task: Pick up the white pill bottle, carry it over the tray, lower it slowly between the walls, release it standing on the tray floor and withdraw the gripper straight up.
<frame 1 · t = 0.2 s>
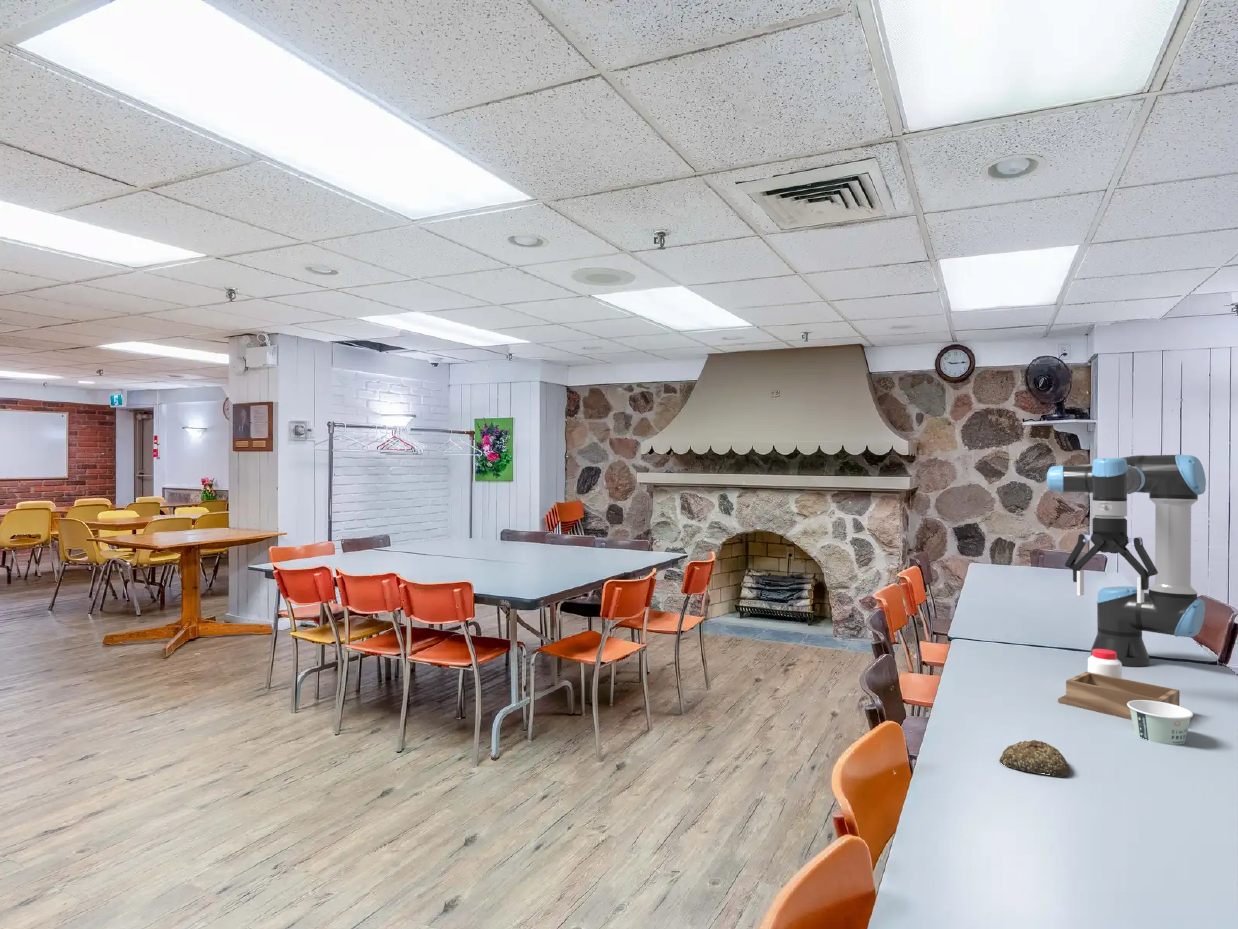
hand: (1109, 598, 188), 27 cm above the table, fingers open, 13 cm apart
food container: (1159, 738, 163), on the table
bread roll: (1034, 766, 149), on the table
pill bottle: (1104, 692, 196), on the table
tray: (1121, 709, 182), on the table
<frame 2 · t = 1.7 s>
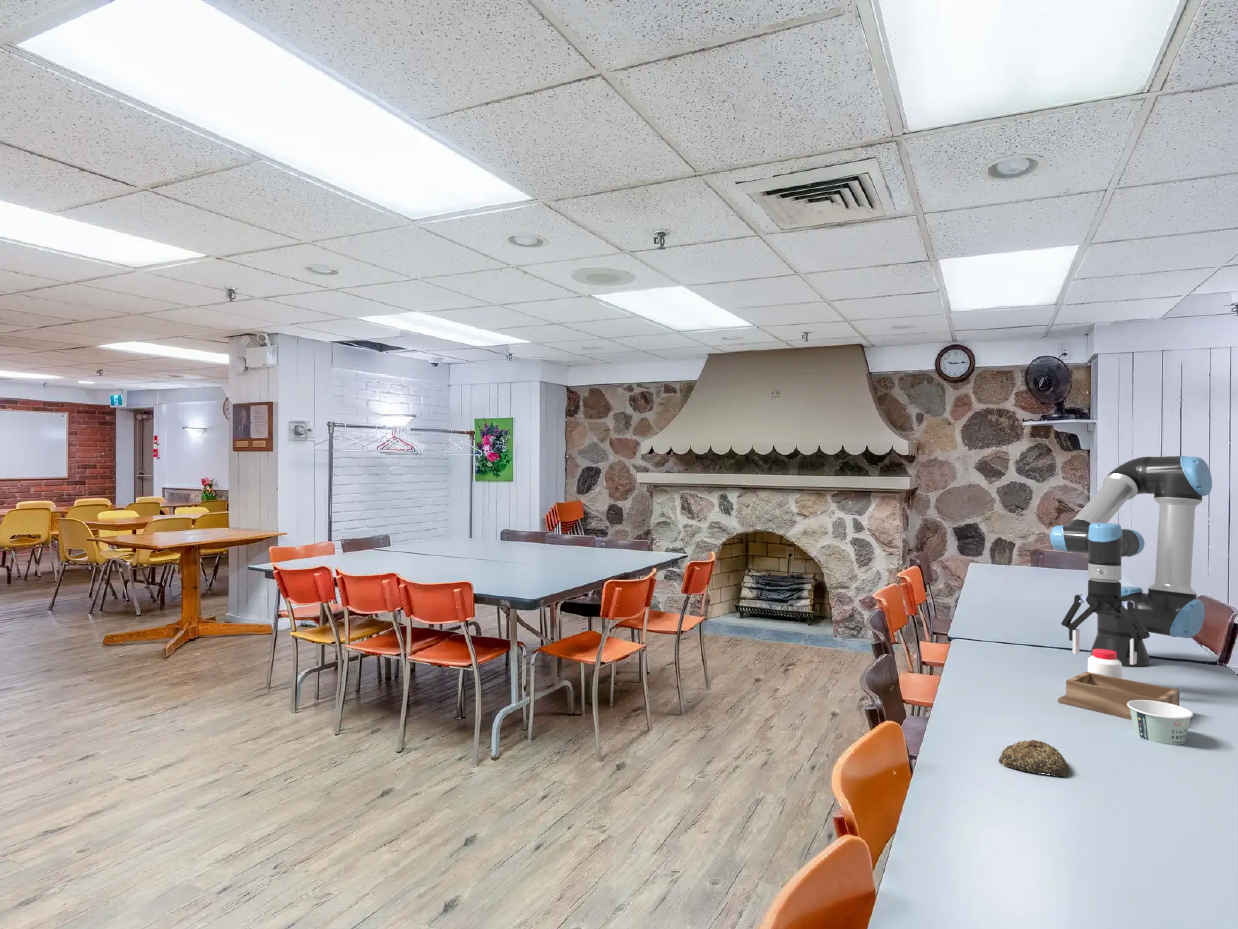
hand: (1103, 658, 196), 9 cm above the table, fingers open, 13 cm apart
nothing on the table moved.
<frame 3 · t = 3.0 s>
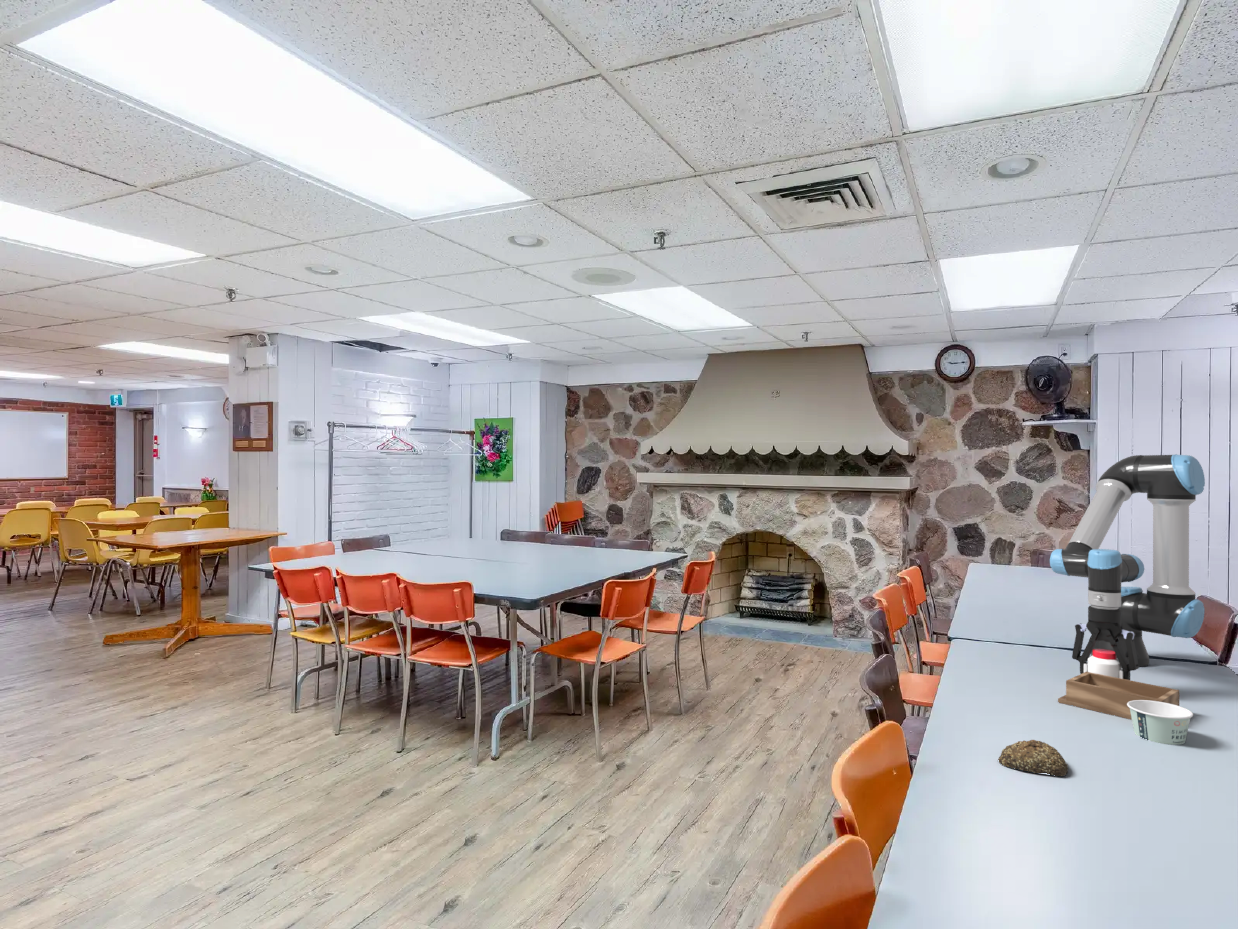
hand: (1104, 690, 196), 0 cm above the table, fingers closed on pill bottle, 8 cm apart
pill bottle: (1104, 692, 196), on the table, touching gripper
everything else where it was.
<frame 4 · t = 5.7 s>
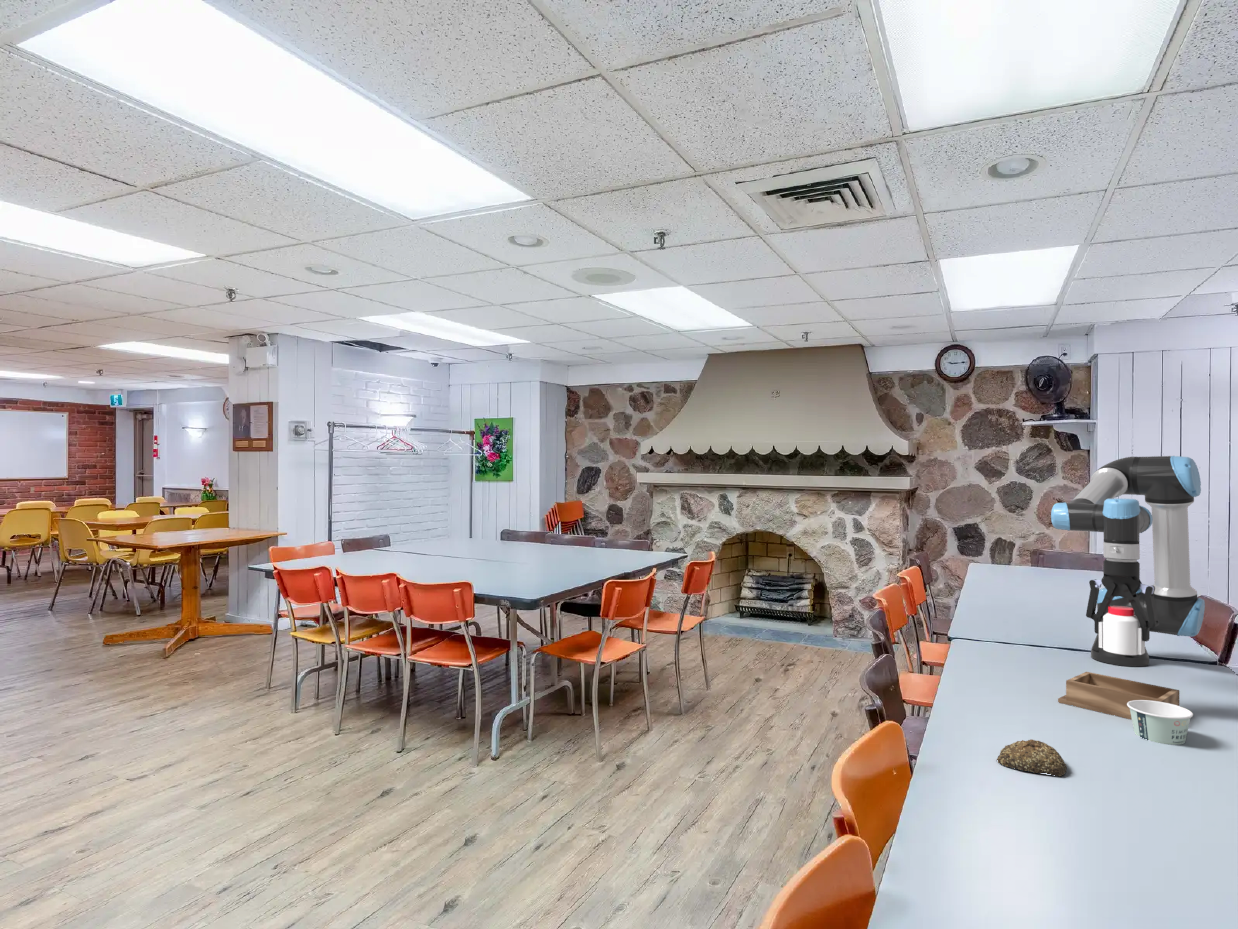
hand: (1121, 650, 182), 15 cm above the table, fingers closed on pill bottle, 8 cm apart
pill bottle: (1121, 652, 182), point 14 cm above the table, touching gripper
everything else where it was.
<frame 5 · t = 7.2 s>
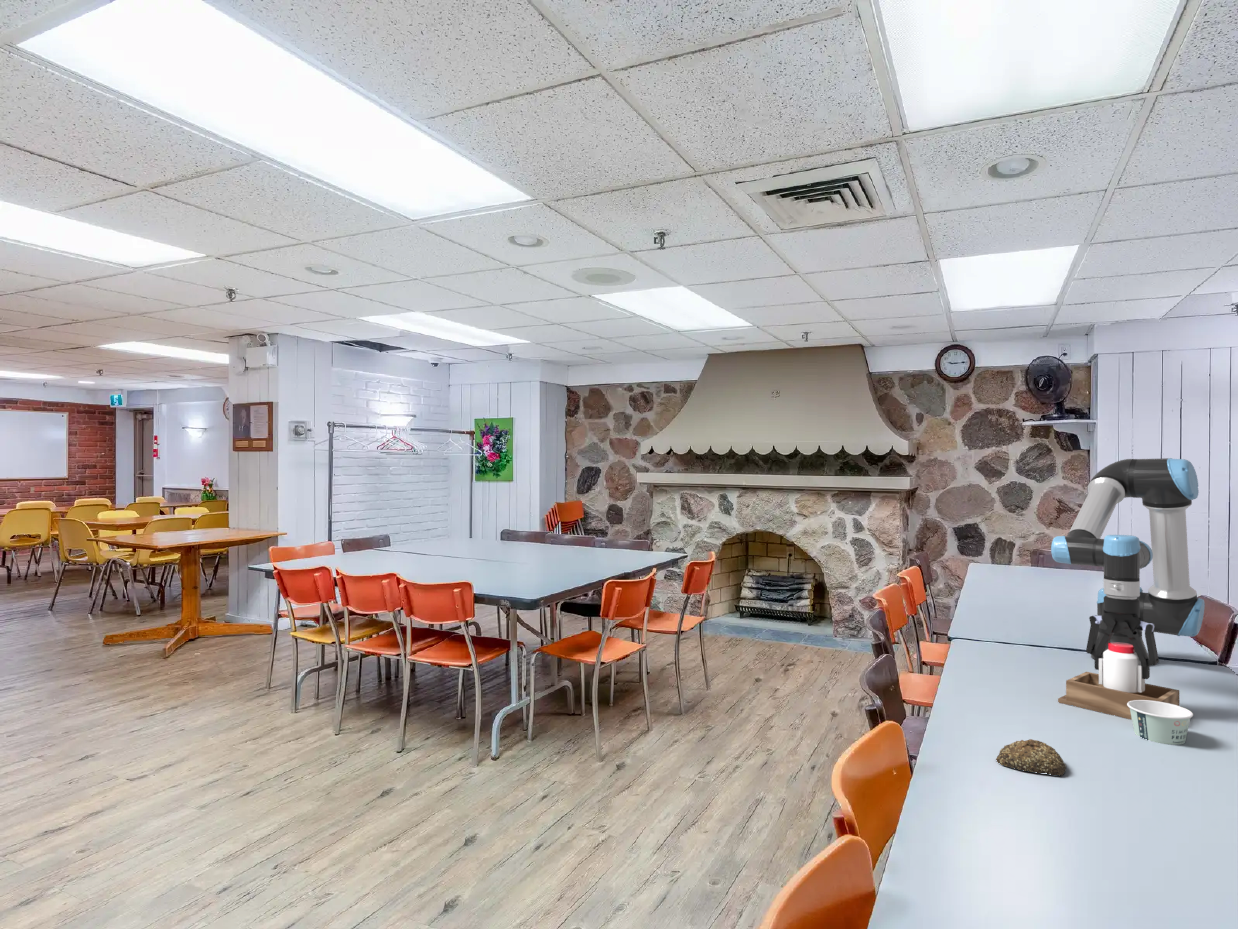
hand: (1121, 687, 182), 6 cm above the table, fingers closed on pill bottle, 8 cm apart
pill bottle: (1121, 689, 182), point 5 cm above the table, touching gripper
everything else where it was.
when the fingers open (3 cm above the table, at t = 8.2 s): pill bottle drops 2 cm, resting on tray.
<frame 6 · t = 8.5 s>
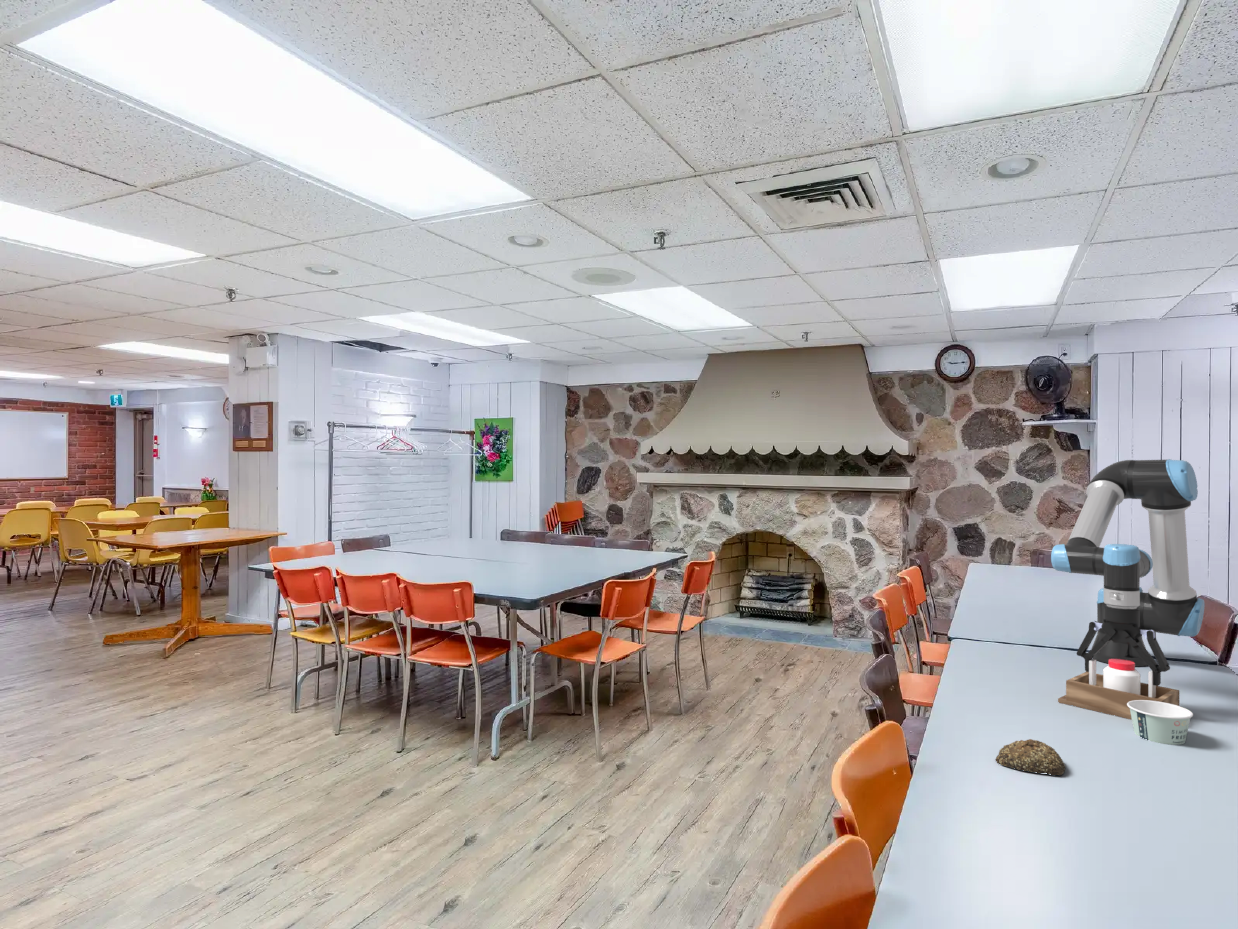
hand: (1121, 691, 182), 4 cm above the table, fingers open, 12 cm apart
pill bottle: (1121, 705, 182), point 1 cm above the table, touching tray
everything else where it was.
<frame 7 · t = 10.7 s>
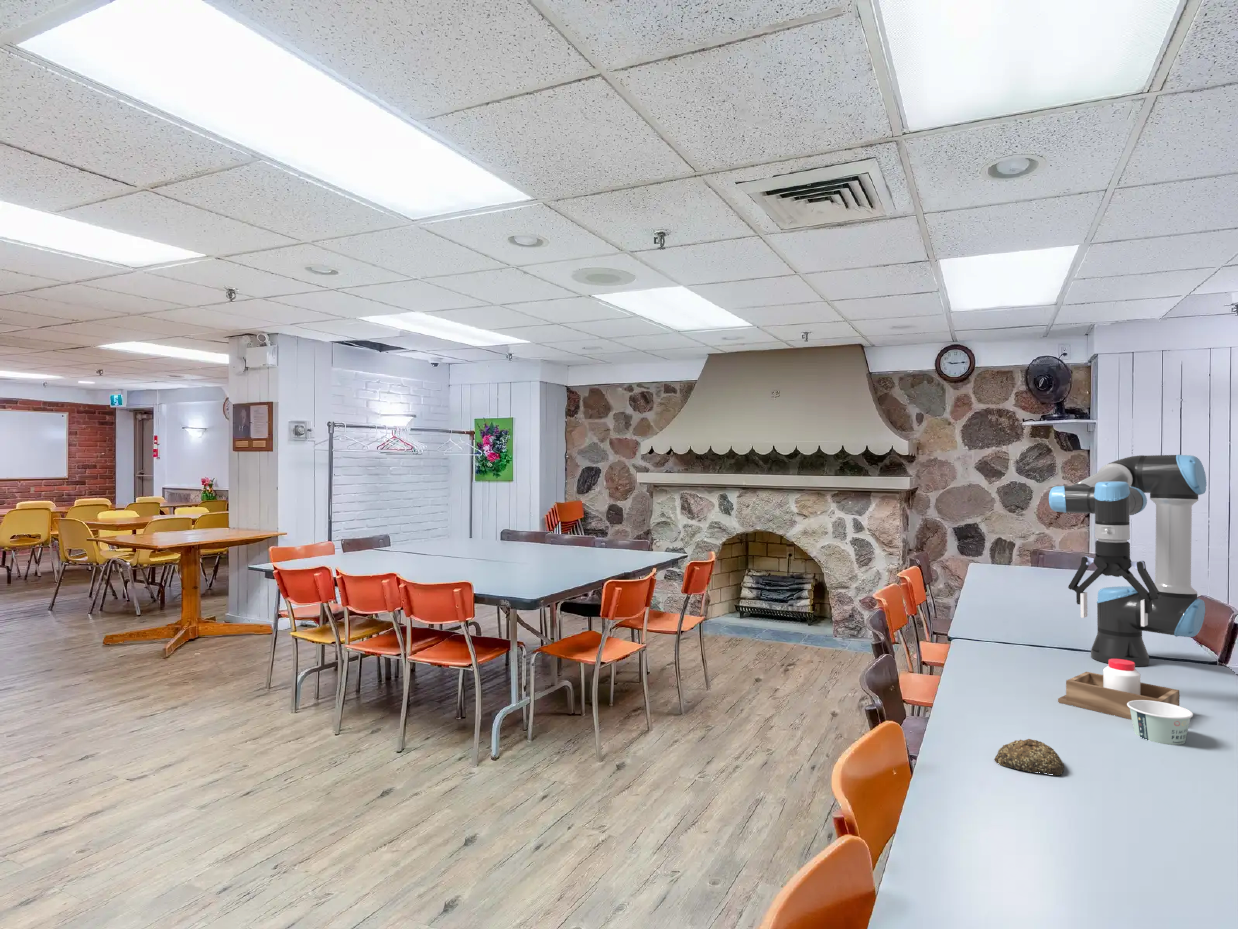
hand: (1113, 621, 190), 21 cm above the table, fingers open, 13 cm apart
nothing on the table moved.
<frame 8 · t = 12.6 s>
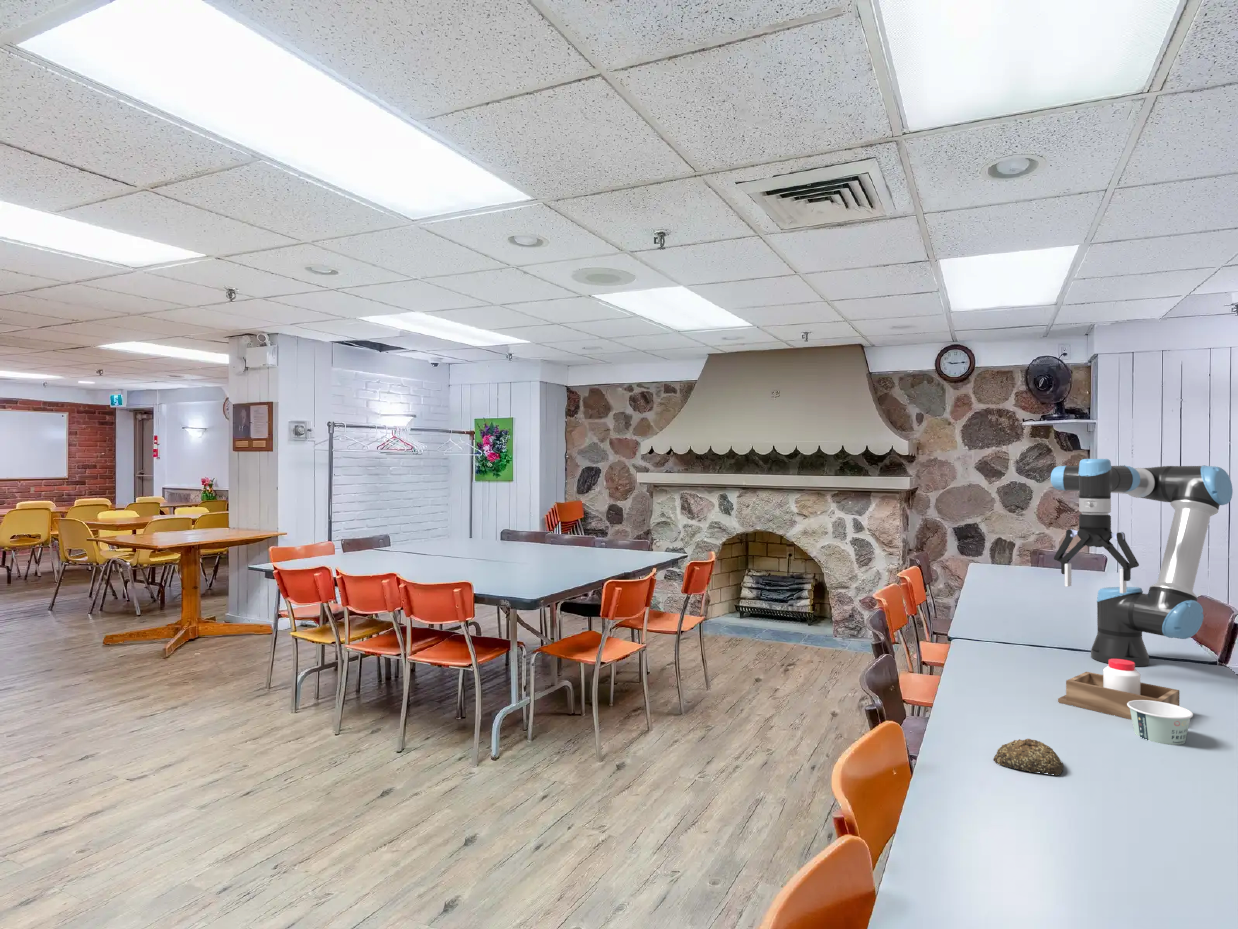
hand: (1094, 589, 203), 27 cm above the table, fingers open, 13 cm apart
at the end: pill bottle inside the target area on the tray (0.1 cm from its centre), point 0.8 cm above the tray's base; pill bottle tilted 0°; the gripper is holding nothing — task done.
